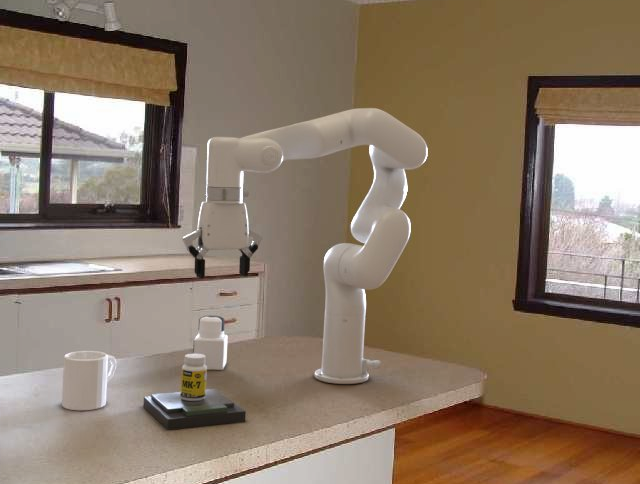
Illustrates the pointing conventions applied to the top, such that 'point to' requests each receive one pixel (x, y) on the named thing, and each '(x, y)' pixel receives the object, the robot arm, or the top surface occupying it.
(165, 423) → the scale
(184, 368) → the supplement bottle
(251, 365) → the top surface
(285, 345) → the top surface
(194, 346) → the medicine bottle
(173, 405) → the scale pan
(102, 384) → the mug
